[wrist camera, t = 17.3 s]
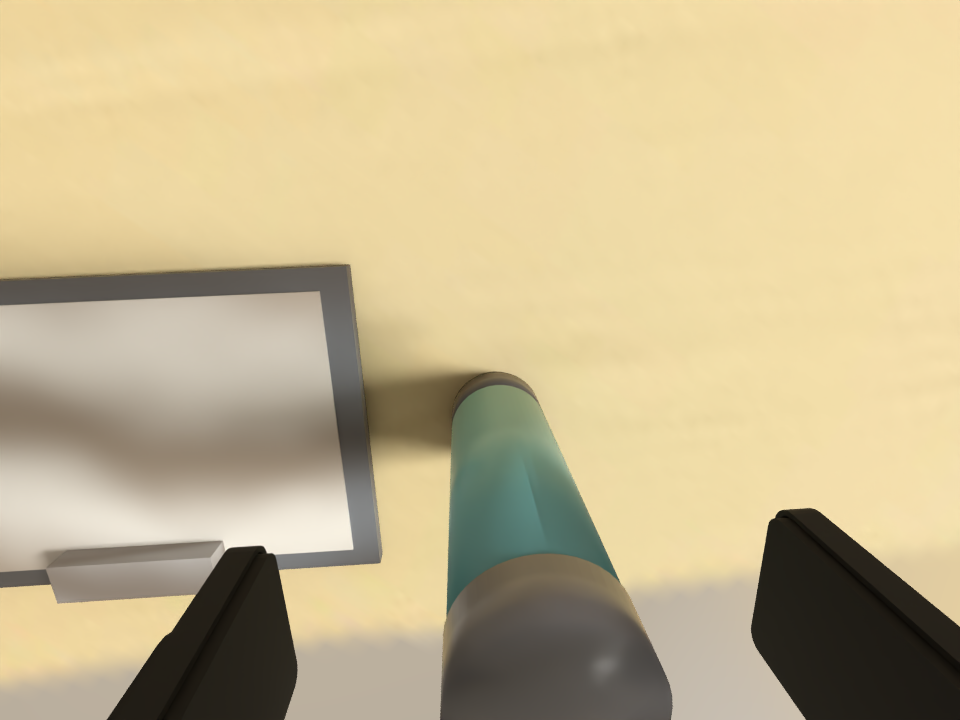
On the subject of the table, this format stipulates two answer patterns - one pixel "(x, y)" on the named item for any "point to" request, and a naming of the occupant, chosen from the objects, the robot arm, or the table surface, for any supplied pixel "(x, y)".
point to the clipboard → (180, 428)
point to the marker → (533, 579)
